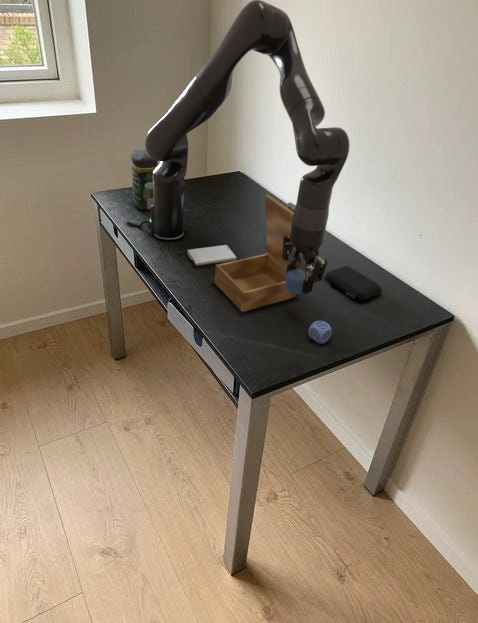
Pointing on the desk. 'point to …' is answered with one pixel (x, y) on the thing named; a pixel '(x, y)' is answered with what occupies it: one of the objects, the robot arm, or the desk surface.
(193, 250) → the hard drive
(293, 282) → the blue lid
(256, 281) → the chest
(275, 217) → the cover
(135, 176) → the coffee jar
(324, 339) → the decorative dice
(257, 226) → the desk surface
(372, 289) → the carrying case
